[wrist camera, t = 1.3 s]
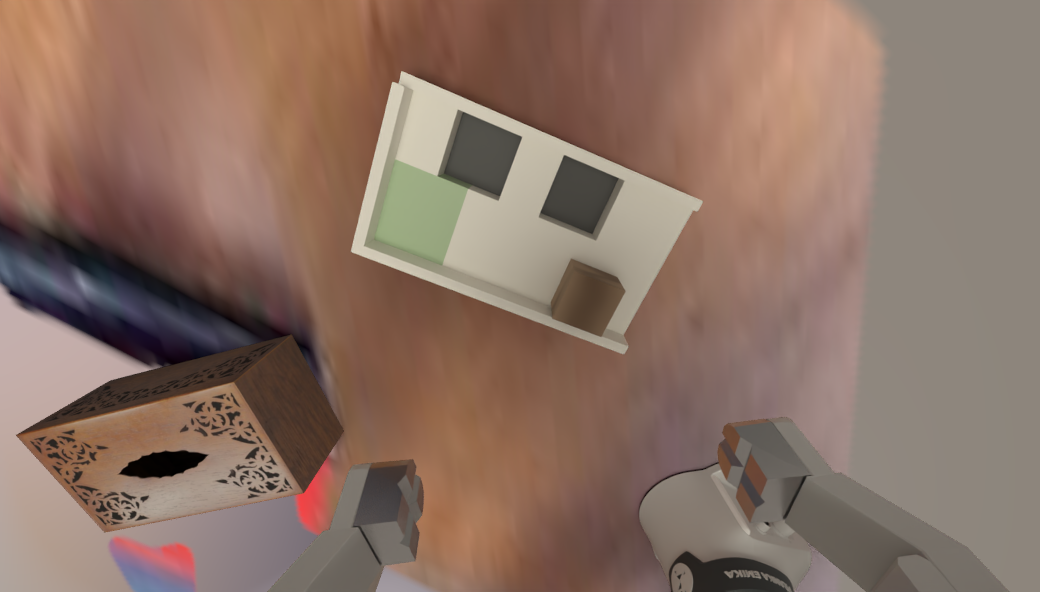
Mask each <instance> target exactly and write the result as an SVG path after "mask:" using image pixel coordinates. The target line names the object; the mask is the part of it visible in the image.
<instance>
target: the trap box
mask: <svg viewBox="0 0 1040 592" xmlns="http://www.w3.org/2000/svg"><path fill="white" fill-rule="evenodd" d="M702 203H703V201H701V200H699V199H697V198H694V197H692V196H690V195H687V194H685V193H683V192H681V191H678V190H676V189H674V188H671V187H669V186H667V185H664V184H662V183H660V182H657V181H655V180H653V179H650V178H648V177H646V176H643V175H641V174H639V173H637V172H634V171H632V170H630V169H627V168H625V167H623V166H620V165H618V164H616V163H613V162H611V161H609V160H606V159H604V158H602V157H599V156H597V155H595V154H593V153H590V152H588V151H586V150H583V149H581V148H579V147H576V146H574V145H572V144H569V143H567V142H565V141H562V140H560V139H558V138H555V137H553V136H551V135H549V134H546V133H544V132H542V131H539V130H537V129H535V128H532V127H530V126H528V125H525V124H523V123H521V122H518V121H516V120H514V119H511V118H509V117H507V116H505V115H502V114H500V113H498V112H495V111H493V110H491V109H488V108H486V107H484V106H481V105H479V104H477V103H474V102H472V101H470V100H467V99H465V98H463V97H461V96H458V95H456V94H454V93H451V92H449V91H447V90H444V89H442V88H440V87H437V86H435V85H433V84H430V83H428V82H426V81H423V80H421V79H419V78H416V77H414V76H412V75H410V74H407V73H405V72H403V71H402V72H401V76H400V80H399V84H397V83H395V82H392V86H391V90H390V94H389V98H388V102H387V106H386V110H385V115H384V119H383V123H382V127H381V131H380V135H379V139H378V143H377V147H376V151H375V155H374V159H373V164H372V168H371V172H370V176H369V180H368V184H367V188H366V192H365V196H364V200H363V204H362V208H361V213H360V217H359V221H358V225H357V229H356V233H355V237H354V241H353V245H352V249H351V252H353V253H355V254H358V255H361V256H363V257H366V258H369V259H371V260H374V261H377V262H379V263H382V264H385V265H387V266H390V267H393V268H395V269H398V270H400V271H403V272H406V273H408V274H411V275H414V276H416V277H419V278H422V279H424V280H427V281H430V282H432V283H435V284H438V285H440V286H443V287H446V288H448V289H451V290H454V291H456V292H459V293H462V294H464V295H467V296H470V297H472V298H475V299H477V300H480V301H483V302H485V303H488V304H491V305H493V306H496V307H499V308H501V309H504V310H507V311H509V312H512V313H515V314H517V315H520V316H523V317H525V318H528V319H531V320H533V321H536V322H539V323H541V324H544V325H547V326H549V327H552V328H555V329H557V330H560V331H562V332H565V333H568V334H570V335H573V336H576V337H578V338H581V339H584V340H586V341H589V342H592V343H594V344H597V345H600V346H602V347H605V348H608V349H610V350H613V351H616V352H618V353H621V354H625V352H626V350H627V349H628V347H629V346H628V344H627V342H626V339H625V337H624V333H625V331H626V330H627V328H628V326H629V324H630V322H631V321H632V319H633V317H634V315H635V314H636V312H637V310H638V308H639V306H640V305H641V303H642V301H643V299H644V297H645V296H646V294H647V292H648V290H649V288H650V287H651V285H652V283H653V281H654V280H655V278H656V276H657V274H658V272H659V271H660V269H661V267H662V265H663V263H664V262H665V260H666V258H667V256H668V254H669V253H670V251H671V249H672V247H673V246H674V244H675V242H676V240H677V238H678V237H679V235H680V233H681V231H682V229H683V228H684V226H685V224H686V222H687V220H688V219H689V217H690V215H691V213H692V212H693V210H694V211H697V212H698V210H699V208H700V206H701V205H702ZM570 259H574V260H576V261H579V262H581V263H584V264H586V265H589V266H591V267H594V268H596V269H599V270H601V271H604V272H606V273H609V274H611V275H614V276H616V277H618V279H619V281H620V282H621V284H622V286H623V288H624V289H625V291H626V292H625V294H624V296H623V297H622V299H621V301H620V303H619V305H618V307H617V309H616V310H615V312H614V314H613V316H612V318H611V320H610V322H609V324H608V325H607V327H606V329H605V331H604V333H603V335H602V337H599V336H597V335H594V334H591V333H589V332H586V331H583V330H581V329H578V328H575V327H573V326H570V325H568V324H565V323H562V322H560V321H557V320H554V319H552V311H551V300H552V298H553V296H554V294H555V292H556V290H557V287H558V285H559V283H560V281H561V279H562V277H563V275H564V272H565V270H566V268H567V266H568V264H569V262H570Z"/></svg>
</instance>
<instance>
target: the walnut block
mask: <svg viewBox="0 0 1040 592" xmlns="http://www.w3.org/2000/svg"><path fill="white" fill-rule="evenodd" d="M625 292H626V291H625V289H624V288H623V286H622V284H621V282H620V281H619V279H618V277H616V276H614V275H611V274H609V273H606V272H604V271H601V270H599V269H596V268H594V267H591V266H589V265H586V264H584V263H581V262H579V261H576V260H574V259H570V262H569V264H568V266H567V268H566V270H565V272H564V275H563V277H562V279H561V281H560V283H559V285H558V287H557V290H556V292H555V294H554V296H553V298H552V300H551V311H552V319H554V320H557V321H560V322H562V323H565V324H568V325H570V326H573V327H575V328H578V329H581V330H583V331H586V332H589V333H591V334H594V335H597V336H599V337H602V335H603V333H604V331H605V329H606V327H607V325H608V324H609V322H610V320H611V318H612V316H613V314H614V312H615V310H616V309H617V307H618V305H619V303H620V301H621V299H622V297H623V296H624V294H625Z"/></svg>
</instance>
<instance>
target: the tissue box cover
mask: <svg viewBox="0 0 1040 592" xmlns="http://www.w3.org/2000/svg"><path fill="white" fill-rule="evenodd" d="M343 432H344V430H343V428H342V427H341V425H340V423H339V421H338V419H337V417H336V416H335V414H334V412H333V410H332V408H331V406H330V405H329V403H328V401H327V399H326V397H325V395H324V393H323V392H322V390H321V388H320V386H319V384H318V382H317V381H316V379H315V377H314V375H313V373H312V371H311V370H310V368H309V366H308V364H307V362H306V360H305V358H304V357H303V355H302V353H301V351H300V349H299V347H298V346H297V344H296V342H295V340H294V338H293V336H292V335H288V336H284V337H280V338H276V339H272V340H268V341H264V342H260V343H256V344H253V345H249V346H245V347H241V348H237V349H233V350H229V351H225V352H221V353H218V354H214V355H210V356H206V357H202V358H198V359H194V360H190V361H186V362H183V363H179V364H175V365H171V366H167V367H163V368H157V369H153V370H149V371H145V372H141V373H137V374H133V375H129V376H125V377H122V378H118V379H114V380H110V381H109V382H107V383H105V384H104V385H102V386H100V387H98V388H97V389H95V390H93V391H91V392H90V393H88V394H86V395H85V396H83V397H81V398H79V399H78V400H76V401H74V402H72V403H71V404H69V405H68V406H66V407H64V408H62V409H60V410H59V411H57V412H55V413H54V414H52V415H50V416H48V417H46V418H45V419H43V420H41V421H40V422H38V423H36V424H35V425H33V426H31V427H29V428H27V429H26V430H24V431H22V432H21V433H19V434H17V435H16V436H17V437H18V438H19V439H20V440H21V441H22V442H23V444H24V445H25V446H26V447H27V448H28V449H29V450H30V451H31V452H32V453H33V455H34V456H35V457H36V458H37V459H38V460H39V461H40V462H41V463H42V464H43V465H44V467H45V468H46V469H47V470H48V471H49V472H50V473H51V474H52V475H53V476H54V478H55V479H56V480H57V481H58V482H59V483H60V484H61V485H62V486H63V487H64V489H65V490H66V491H67V492H68V493H69V494H70V495H71V496H72V497H73V498H74V499H75V501H76V502H77V503H78V504H79V505H80V506H81V507H82V508H83V509H84V511H85V512H86V513H87V514H88V515H89V516H90V517H91V518H92V519H93V520H94V521H95V523H96V524H97V525H98V526H99V527H100V528H101V529H102V530H103V531H104V532H110V531H114V530H120V529H125V528H130V527H135V526H140V525H145V524H150V523H155V522H160V521H165V520H170V519H175V518H181V517H186V516H191V515H196V514H201V513H206V512H211V511H216V510H221V509H226V508H231V507H236V506H241V505H246V504H251V503H257V502H262V501H267V500H272V499H277V498H282V497H286V496H292V495H297V494H302V493H304V492H305V491H306V489H307V487H308V486H309V484H310V483H311V481H312V480H313V478H314V477H315V475H316V474H317V472H318V470H319V469H320V467H321V466H322V464H323V463H324V461H325V460H326V458H327V456H328V455H329V453H330V452H331V450H332V449H333V447H334V446H335V444H336V443H337V441H338V439H339V438H340V436H341V435H342V433H343Z"/></svg>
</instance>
